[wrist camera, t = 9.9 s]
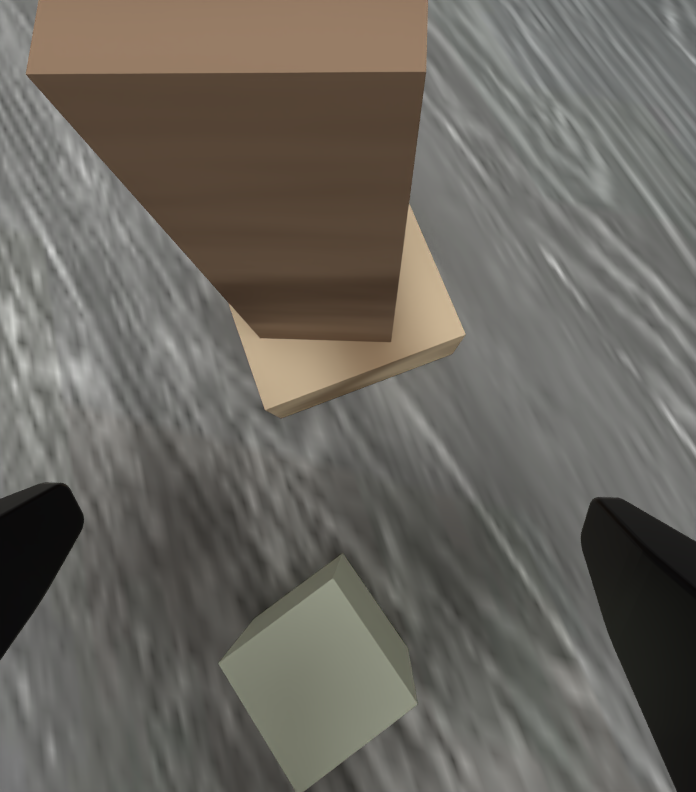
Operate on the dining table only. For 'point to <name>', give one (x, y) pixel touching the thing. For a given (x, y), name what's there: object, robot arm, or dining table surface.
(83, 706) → the dining table surface
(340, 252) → the walnut block
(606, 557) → the robot arm
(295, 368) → the oak slab
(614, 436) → the dining table surface
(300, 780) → the sage cube
